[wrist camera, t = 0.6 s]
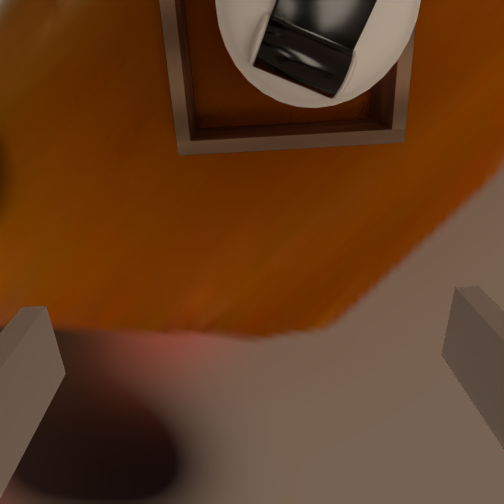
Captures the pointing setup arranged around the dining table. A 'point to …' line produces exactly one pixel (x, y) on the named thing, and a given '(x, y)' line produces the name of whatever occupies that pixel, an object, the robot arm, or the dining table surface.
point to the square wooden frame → (279, 135)
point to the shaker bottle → (315, 45)
